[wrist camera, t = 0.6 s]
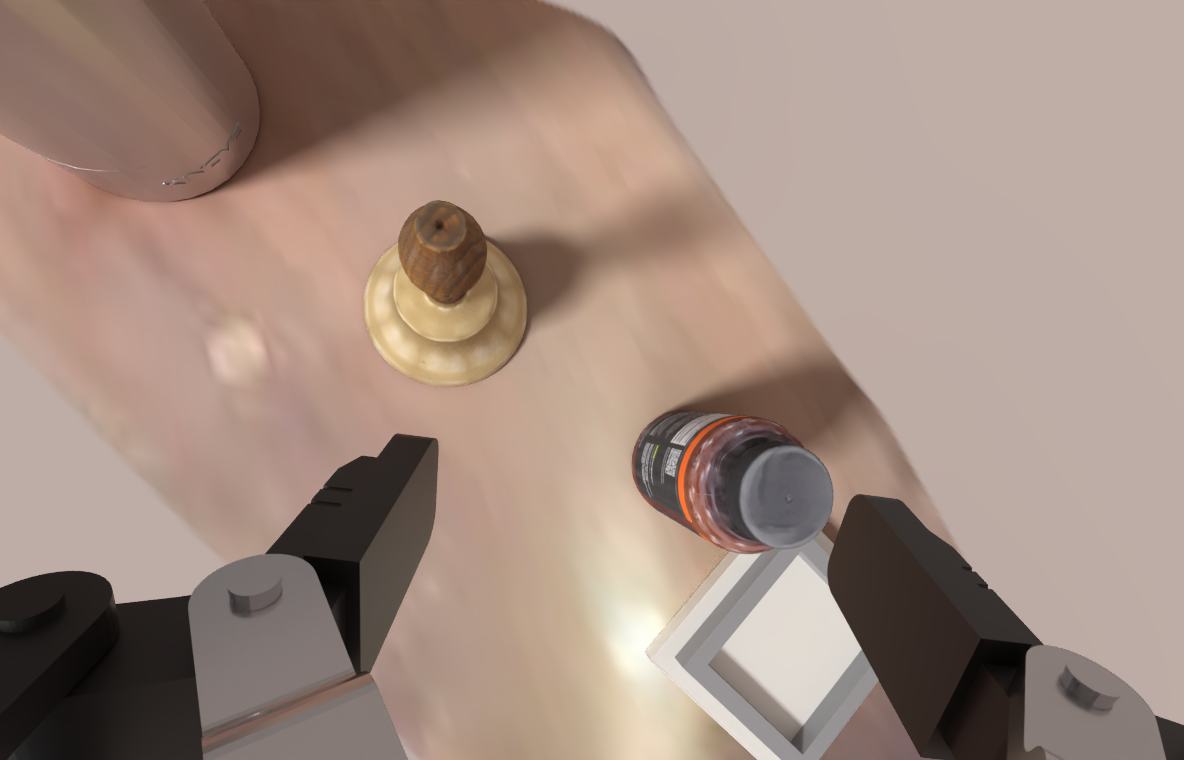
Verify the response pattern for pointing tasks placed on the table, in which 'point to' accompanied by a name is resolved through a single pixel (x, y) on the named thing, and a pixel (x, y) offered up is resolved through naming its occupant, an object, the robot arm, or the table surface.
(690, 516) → the supplement bottle
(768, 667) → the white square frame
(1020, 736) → the robot arm
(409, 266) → the hand bell
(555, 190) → the table surface
